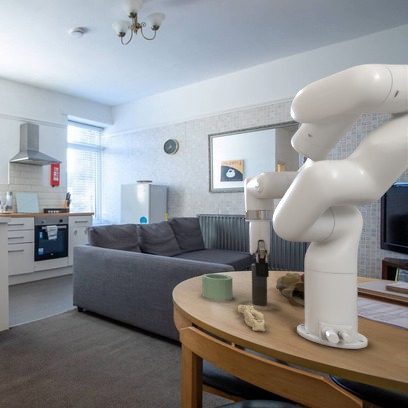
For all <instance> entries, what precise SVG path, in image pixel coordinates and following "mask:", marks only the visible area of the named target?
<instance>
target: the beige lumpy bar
mask: <svg viewBox="0 0 408 408" xmlns="http://www.w3.org/2000/svg"><path fill="white" fill-rule="evenodd" d="M254 306H255V305H247V304H238V306H237V312H238V313H241V314H243V317H244V322H245V324H246V325H247V326H248V327H251V328H252V331H254V332H258V331H261V332H265V331H266V328H265V324H266V320H265V319H264V317H265V316H264V314H263V313H262V312H260V311H258V310H257V309H255V308H254Z"/></svg>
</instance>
